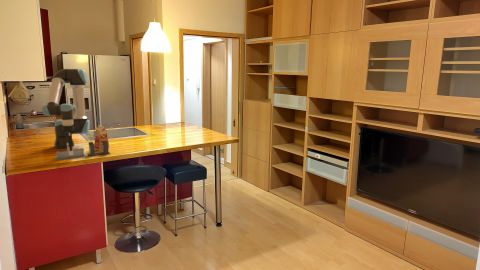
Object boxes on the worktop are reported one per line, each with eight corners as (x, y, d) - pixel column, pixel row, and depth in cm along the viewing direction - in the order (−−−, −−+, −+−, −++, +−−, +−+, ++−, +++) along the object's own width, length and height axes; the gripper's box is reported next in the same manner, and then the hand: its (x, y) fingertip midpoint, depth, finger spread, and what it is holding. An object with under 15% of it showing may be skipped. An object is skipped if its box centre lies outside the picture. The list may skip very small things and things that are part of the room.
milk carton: (93, 149, 276) (92, 125, 272) (103, 147, 284) (102, 123, 280) (100, 150, 271) (98, 126, 267) (110, 148, 279) (108, 125, 275)
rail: (56, 157, 248) (56, 151, 247) (83, 154, 257) (82, 148, 256) (57, 159, 245) (56, 152, 244) (84, 155, 254) (83, 149, 253)
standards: (88, 154, 260) (87, 142, 259) (108, 151, 268) (107, 140, 266) (89, 156, 255) (88, 144, 253) (110, 153, 262) (109, 142, 260)
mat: (55, 157, 250) (55, 157, 250) (84, 154, 260) (84, 153, 260) (56, 160, 242) (56, 160, 242) (86, 157, 252) (86, 156, 252)
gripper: (60, 122, 254) (63, 149, 259) (63, 128, 234) (66, 157, 238) (71, 122, 258) (74, 148, 263) (75, 127, 238) (77, 156, 242)
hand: (70, 152), depth 250 cm, fingers open, 13 cm apart
